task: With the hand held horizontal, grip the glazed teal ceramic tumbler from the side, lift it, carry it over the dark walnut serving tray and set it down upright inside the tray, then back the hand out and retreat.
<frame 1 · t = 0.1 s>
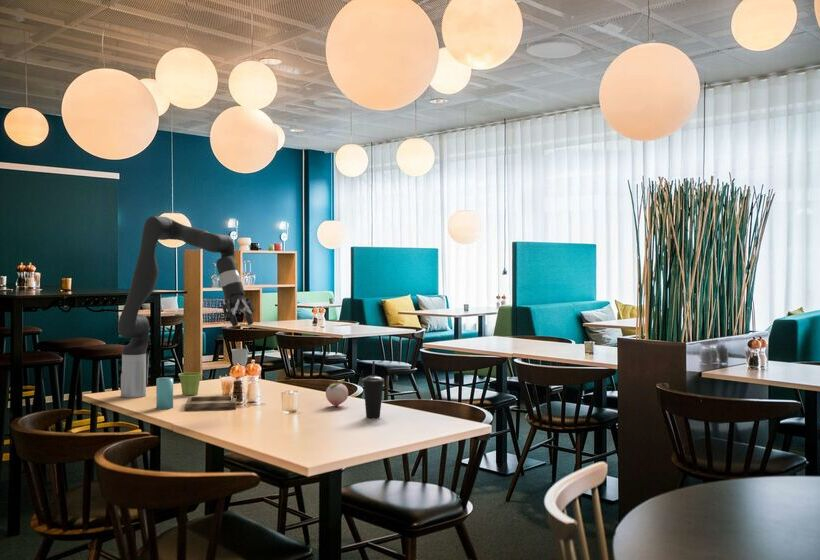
hand: (243, 325, 279), 31 cm above the table, tool tilted 20°, fingers open, 8 cm apart
plant pot: (190, 395, 311), on the table
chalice: (239, 392, 320), on the table
drinking cup: (373, 417, 267), on the table
decorative fruit: (337, 407, 287), on the table
walnut tray: (211, 406, 285), on the table
teal tumbler: (164, 407, 280), on the table
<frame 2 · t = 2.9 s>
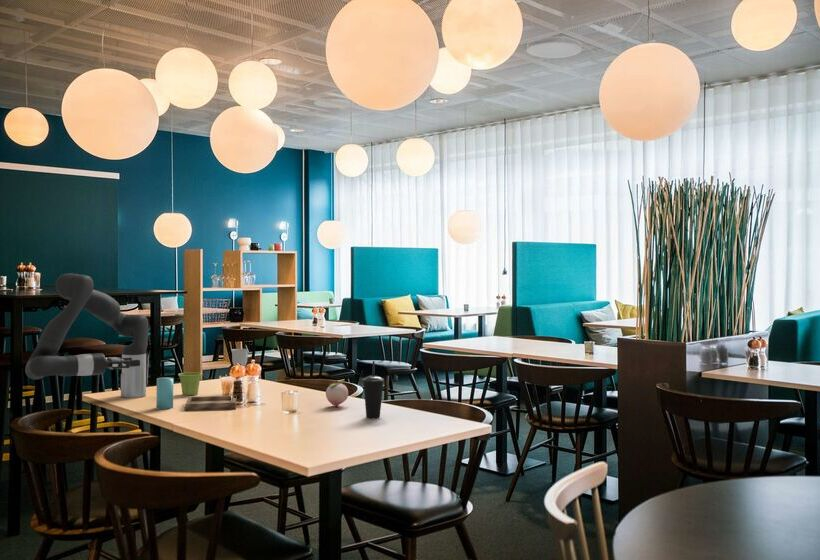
hand: (135, 361, 273), 18 cm above the table, tool horizontal, fingers open, 8 cm apart
nothing on the table moved.
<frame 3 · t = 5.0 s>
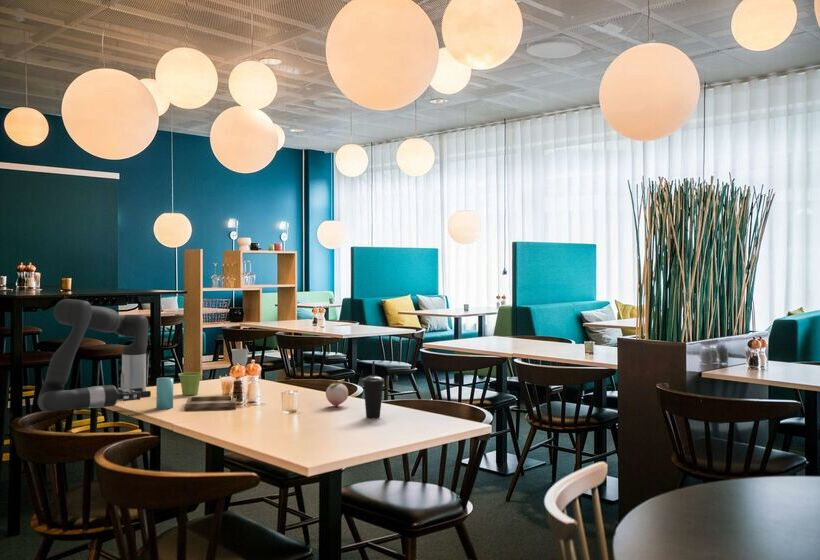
hand: (146, 392, 276), 6 cm above the table, tool horizontal, fingers open, 8 cm apart
nothing on the table moved.
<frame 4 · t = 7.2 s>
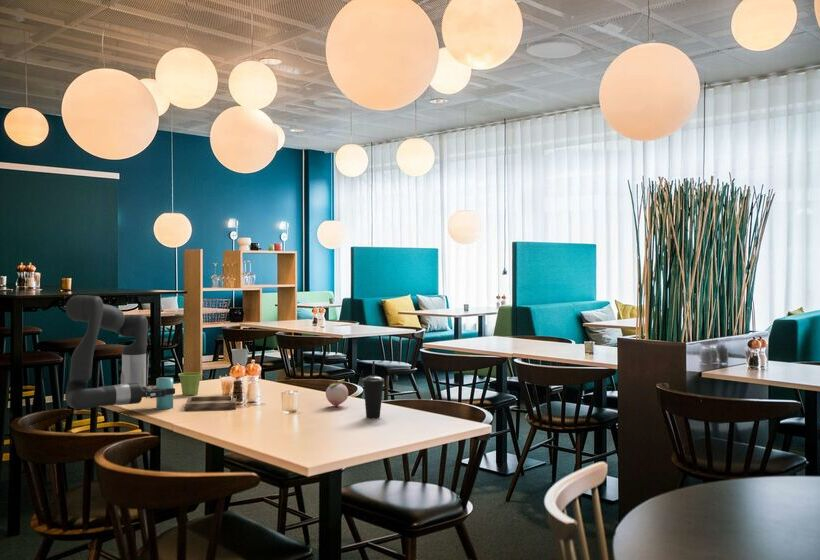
hand: (171, 389, 282), 7 cm above the table, tool horizontal, fingers closed on teal tumbler, 6 cm apart
teal tumbler: (164, 407, 280), on the table, touching gripper
everything else where it was.
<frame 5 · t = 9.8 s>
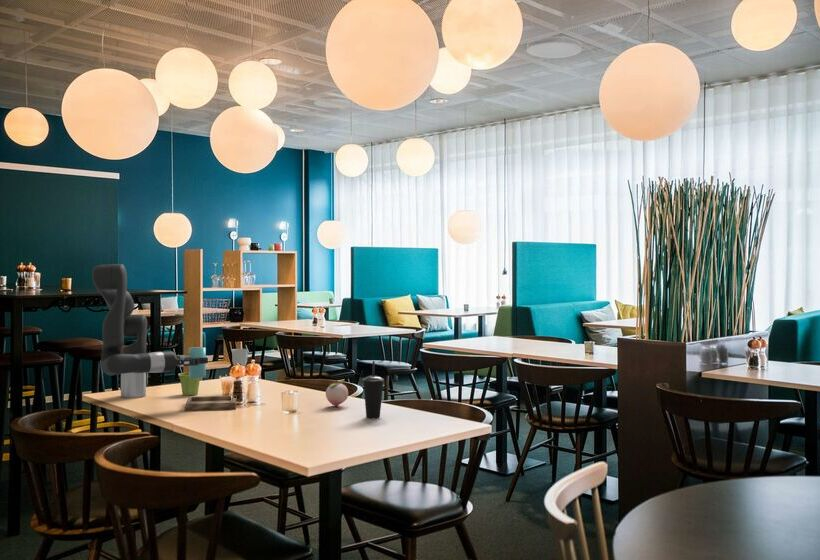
hand: (203, 359, 284), 18 cm above the table, tool horizontal, fingers closed on teal tumbler, 6 cm apart
teal tumbler: (197, 377, 283), point 11 cm above the table, touching gripper
everything else where it was.
when the fingers open (9 cm above the table, at t = 12.4 s): teal tumbler drops 1 cm, resting on walnut tray.
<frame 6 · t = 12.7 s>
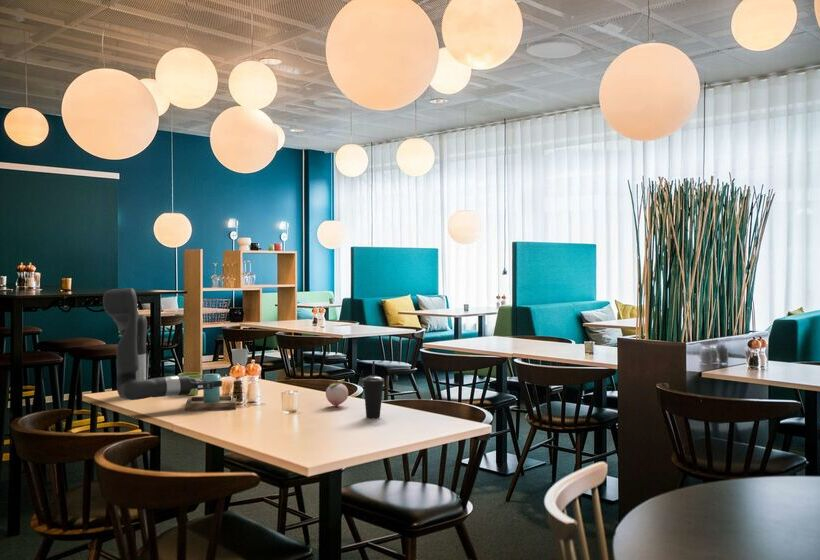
hand: (216, 382, 286), 9 cm above the table, tool horizontal, fingers open, 8 cm apart
teal tumbler: (211, 403, 285), point 1 cm above the table, touching walnut tray
everything else where it was.
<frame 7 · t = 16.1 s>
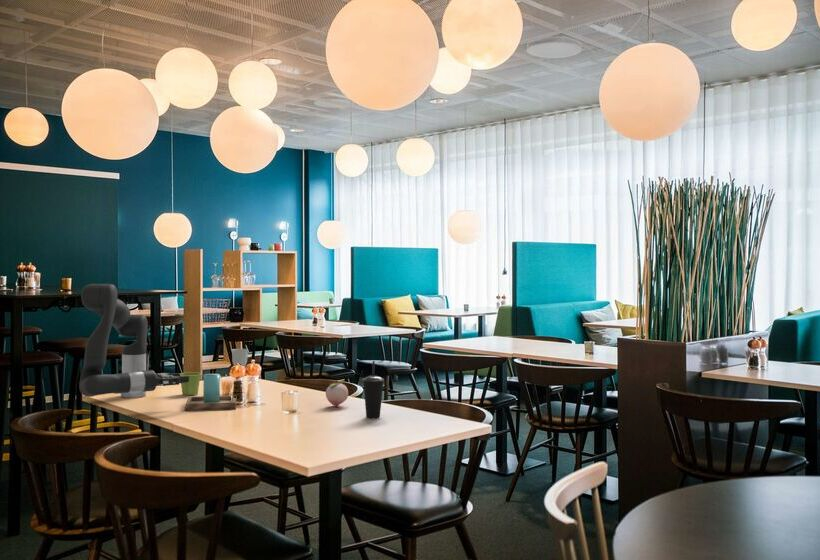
hand: (184, 377, 278), 12 cm above the table, tool horizontal, fingers open, 8 cm apart
nothing on the table moved.
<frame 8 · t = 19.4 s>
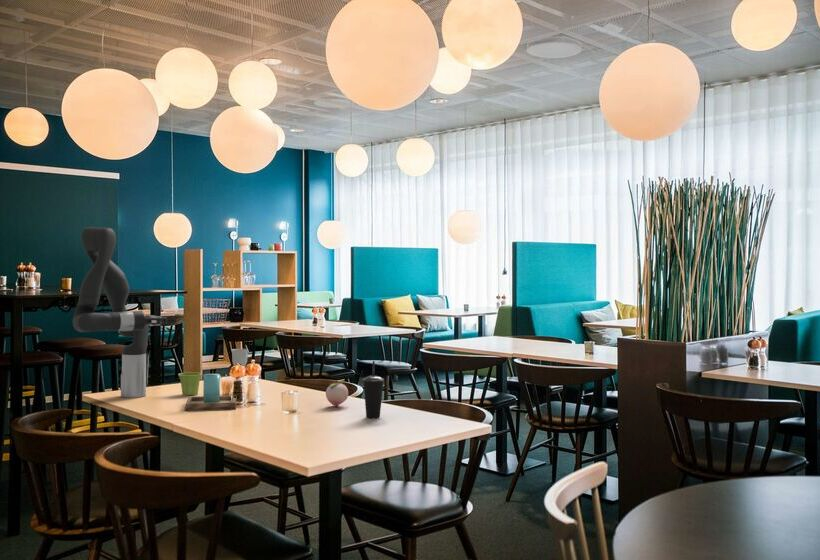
hand: (171, 319, 295), 32 cm above the table, tool horizontal, fingers open, 8 cm apart
nothing on the table moved.
at the end: teal tumbler inside the target area on the walnut tray (0.1 cm from its centre), point 1.0 cm above the walnut tray's base; teal tumbler tilted 0°; the gripper is holding nothing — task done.
